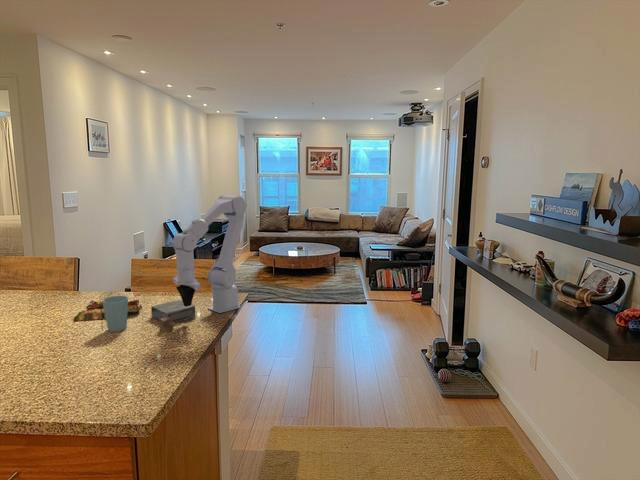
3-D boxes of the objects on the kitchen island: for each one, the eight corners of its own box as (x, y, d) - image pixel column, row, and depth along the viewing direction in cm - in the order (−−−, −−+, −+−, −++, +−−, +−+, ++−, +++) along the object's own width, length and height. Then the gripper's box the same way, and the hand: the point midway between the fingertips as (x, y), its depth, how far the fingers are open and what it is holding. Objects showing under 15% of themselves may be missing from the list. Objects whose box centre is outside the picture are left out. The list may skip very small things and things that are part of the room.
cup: (129, 331, 133) (127, 300, 132) (103, 334, 130) (101, 303, 128) (130, 323, 140) (128, 294, 138) (105, 326, 137) (103, 297, 135)
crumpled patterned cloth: (146, 304, 163) (146, 295, 163) (137, 320, 145) (137, 311, 145) (86, 307, 158) (85, 299, 157) (69, 325, 140) (68, 315, 140)
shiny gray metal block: (179, 310, 154) (179, 299, 154) (195, 317, 147) (195, 305, 147) (151, 317, 146) (151, 306, 146) (166, 325, 139) (166, 313, 138)
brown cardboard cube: (168, 327, 136) (167, 316, 136) (173, 330, 134) (172, 318, 134) (160, 330, 134) (159, 318, 134) (164, 332, 132) (163, 321, 132)
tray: (178, 309, 153) (178, 303, 152) (192, 315, 146) (192, 309, 146) (156, 314, 146) (155, 308, 146) (170, 321, 140) (169, 315, 139)
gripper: (164, 266, 142) (166, 303, 144) (186, 273, 133) (188, 313, 135) (182, 263, 147) (184, 299, 149) (205, 269, 138) (206, 307, 140)
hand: (187, 305), depth 143 cm, fingers closed
